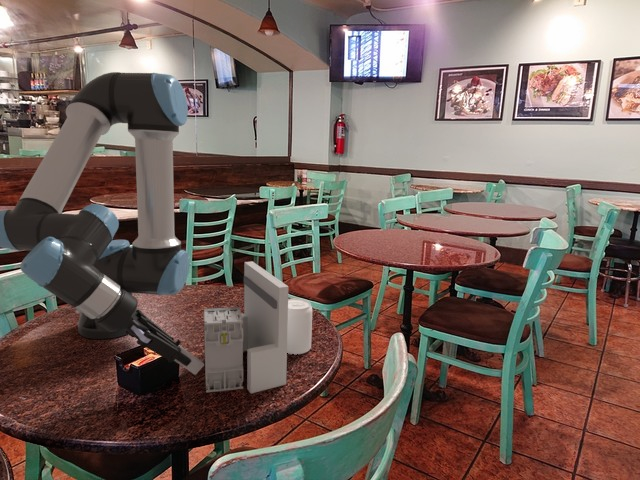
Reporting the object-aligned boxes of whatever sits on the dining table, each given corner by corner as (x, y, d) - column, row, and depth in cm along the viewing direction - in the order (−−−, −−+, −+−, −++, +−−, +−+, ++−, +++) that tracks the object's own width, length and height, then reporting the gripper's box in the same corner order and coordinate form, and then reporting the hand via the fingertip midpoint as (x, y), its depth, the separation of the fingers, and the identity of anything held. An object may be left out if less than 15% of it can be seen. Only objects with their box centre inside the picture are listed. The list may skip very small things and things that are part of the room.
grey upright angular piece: (220, 352, 109) (219, 264, 104) (251, 345, 113) (252, 261, 108) (250, 393, 92) (251, 291, 87) (286, 384, 96) (288, 286, 91)
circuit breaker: (237, 356, 107) (237, 297, 104) (243, 388, 94) (243, 321, 91) (204, 359, 105) (203, 298, 102) (206, 392, 92) (204, 324, 89)
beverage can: (274, 343, 115) (275, 299, 112) (304, 339, 118) (306, 296, 115) (283, 358, 107) (284, 311, 105) (315, 354, 110) (317, 307, 107)
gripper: (90, 307, 88) (179, 368, 100) (94, 333, 77) (193, 398, 89) (119, 278, 90) (203, 341, 101) (126, 300, 78) (220, 368, 90)
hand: (198, 368), depth 95 cm, fingers closed
